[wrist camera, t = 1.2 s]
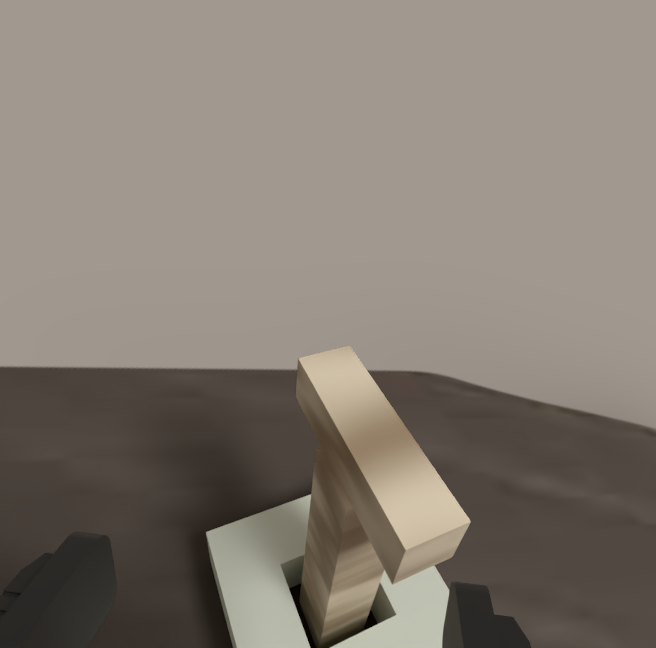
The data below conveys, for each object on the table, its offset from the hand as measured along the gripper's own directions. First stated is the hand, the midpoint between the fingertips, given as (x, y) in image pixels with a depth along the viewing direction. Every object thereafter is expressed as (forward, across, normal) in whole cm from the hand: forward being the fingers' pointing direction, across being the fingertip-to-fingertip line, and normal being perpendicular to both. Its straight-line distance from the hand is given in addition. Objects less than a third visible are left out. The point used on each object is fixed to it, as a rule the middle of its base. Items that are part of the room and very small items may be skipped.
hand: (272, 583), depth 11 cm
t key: (+14, 0, +18) cm, 23 cm away
